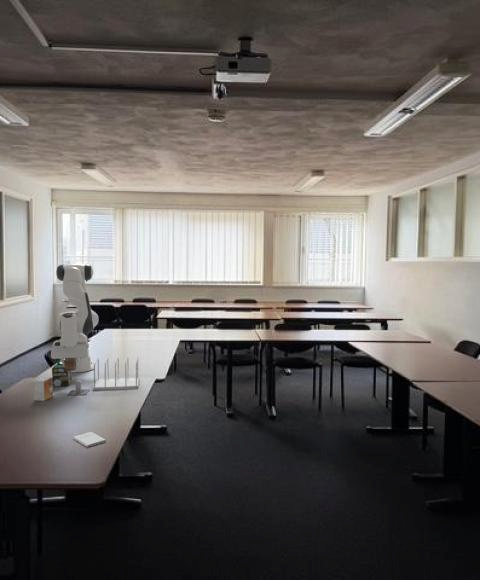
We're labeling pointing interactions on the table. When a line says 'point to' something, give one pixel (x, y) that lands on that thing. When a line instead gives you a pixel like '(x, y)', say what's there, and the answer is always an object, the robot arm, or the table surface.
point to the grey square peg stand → (78, 390)
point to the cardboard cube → (70, 364)
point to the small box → (43, 388)
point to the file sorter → (116, 379)
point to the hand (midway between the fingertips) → (70, 365)
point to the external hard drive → (89, 439)
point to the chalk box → (61, 375)
